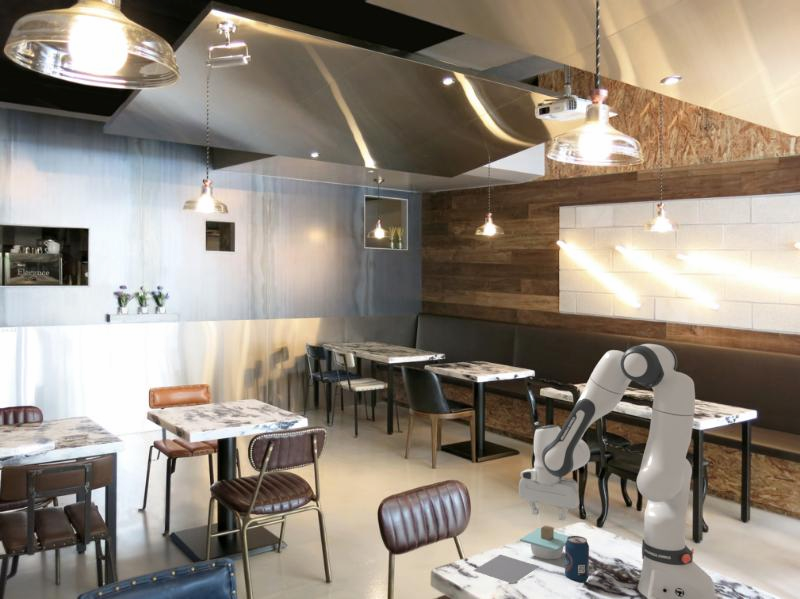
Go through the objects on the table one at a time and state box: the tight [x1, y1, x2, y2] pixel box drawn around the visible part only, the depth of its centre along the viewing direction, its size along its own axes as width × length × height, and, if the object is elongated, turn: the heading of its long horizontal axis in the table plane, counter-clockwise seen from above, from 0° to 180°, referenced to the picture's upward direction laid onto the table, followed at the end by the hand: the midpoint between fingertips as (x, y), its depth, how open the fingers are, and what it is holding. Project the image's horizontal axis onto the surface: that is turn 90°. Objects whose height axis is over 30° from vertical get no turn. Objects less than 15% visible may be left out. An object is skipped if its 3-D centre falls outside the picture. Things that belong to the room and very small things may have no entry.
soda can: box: [564, 535, 590, 584], centre depth 195 cm, size 7×7×12 cm
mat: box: [473, 554, 540, 585], centre depth 200 cm, size 14×16×1 cm
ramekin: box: [530, 544, 564, 560], centre depth 212 cm, size 11×11×5 cm
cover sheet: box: [519, 525, 570, 551], centre depth 212 cm, size 13×13×4 cm
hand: (548, 517), depth 211 cm, fingers open, 8 cm apart
